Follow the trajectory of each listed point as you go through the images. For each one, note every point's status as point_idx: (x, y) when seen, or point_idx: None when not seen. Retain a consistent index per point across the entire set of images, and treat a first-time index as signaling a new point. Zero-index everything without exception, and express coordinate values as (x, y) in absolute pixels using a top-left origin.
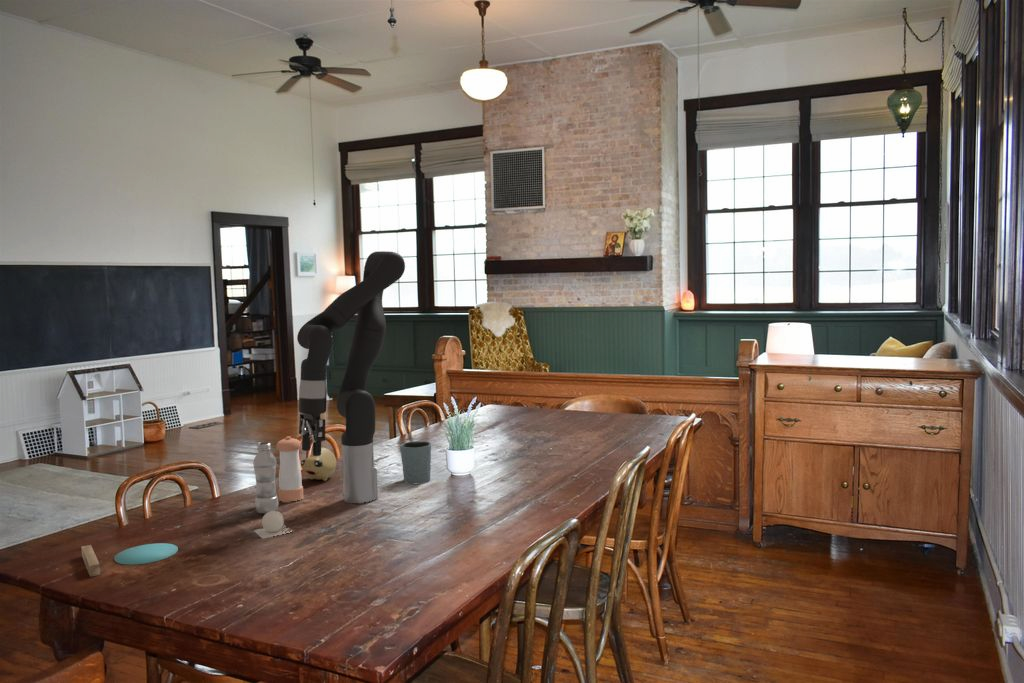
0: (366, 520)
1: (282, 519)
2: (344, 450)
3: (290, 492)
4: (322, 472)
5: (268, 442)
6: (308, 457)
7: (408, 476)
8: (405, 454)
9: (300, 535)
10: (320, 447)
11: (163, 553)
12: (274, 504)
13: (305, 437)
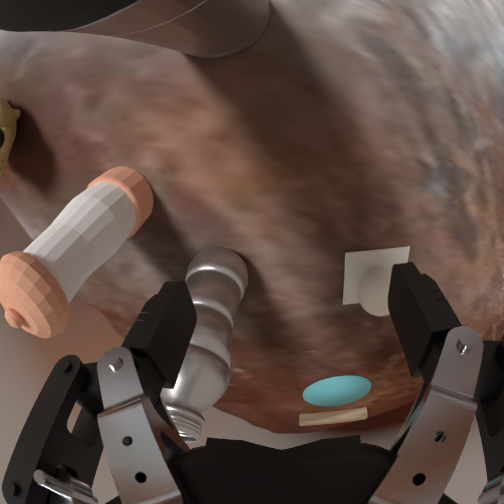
0: (435, 73)
1: None
2: (163, 8)
3: (141, 213)
4: (10, 123)
5: None
6: None
7: None
8: None
9: (433, 238)
10: (448, 306)
11: (353, 383)
12: (242, 267)
13: (159, 377)
